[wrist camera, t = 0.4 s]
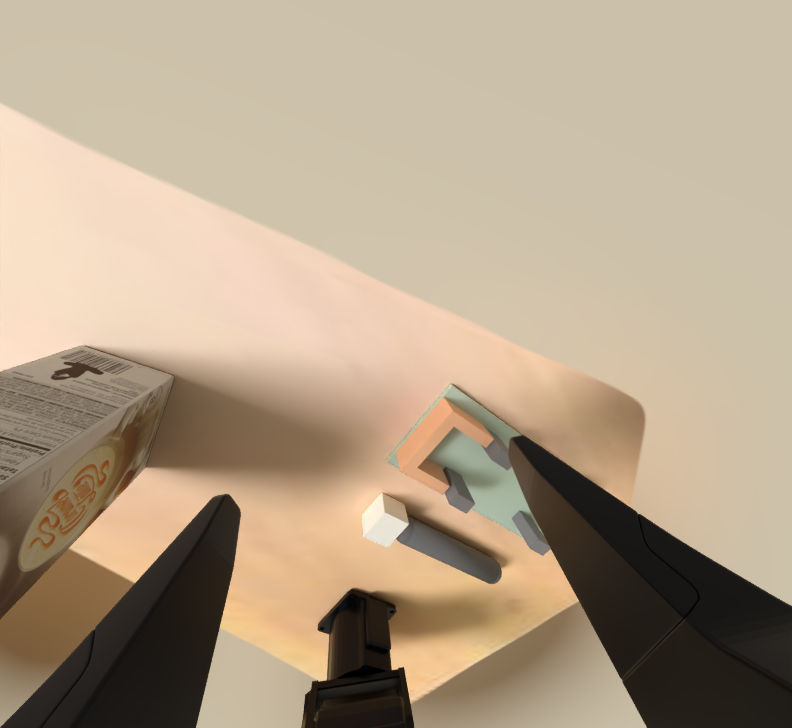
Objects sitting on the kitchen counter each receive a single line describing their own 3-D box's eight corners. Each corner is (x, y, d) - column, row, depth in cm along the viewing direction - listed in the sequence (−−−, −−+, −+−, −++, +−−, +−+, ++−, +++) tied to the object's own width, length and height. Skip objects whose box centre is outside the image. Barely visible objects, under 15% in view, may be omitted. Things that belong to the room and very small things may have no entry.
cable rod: (483, 572, 35) (492, 594, 33) (362, 515, 29) (363, 536, 27) (501, 554, 34) (512, 575, 32) (381, 492, 29) (384, 512, 27)
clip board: (533, 540, 34) (555, 576, 30) (386, 458, 28) (392, 490, 24) (591, 485, 32) (622, 515, 29) (450, 383, 26) (467, 405, 22)
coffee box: (148, 469, 25) (-160, 801, 10) (55, 446, 23) (-498, 807, 8) (178, 373, 22) (-167, 613, 7) (77, 339, 21) (-639, 563, 6)
